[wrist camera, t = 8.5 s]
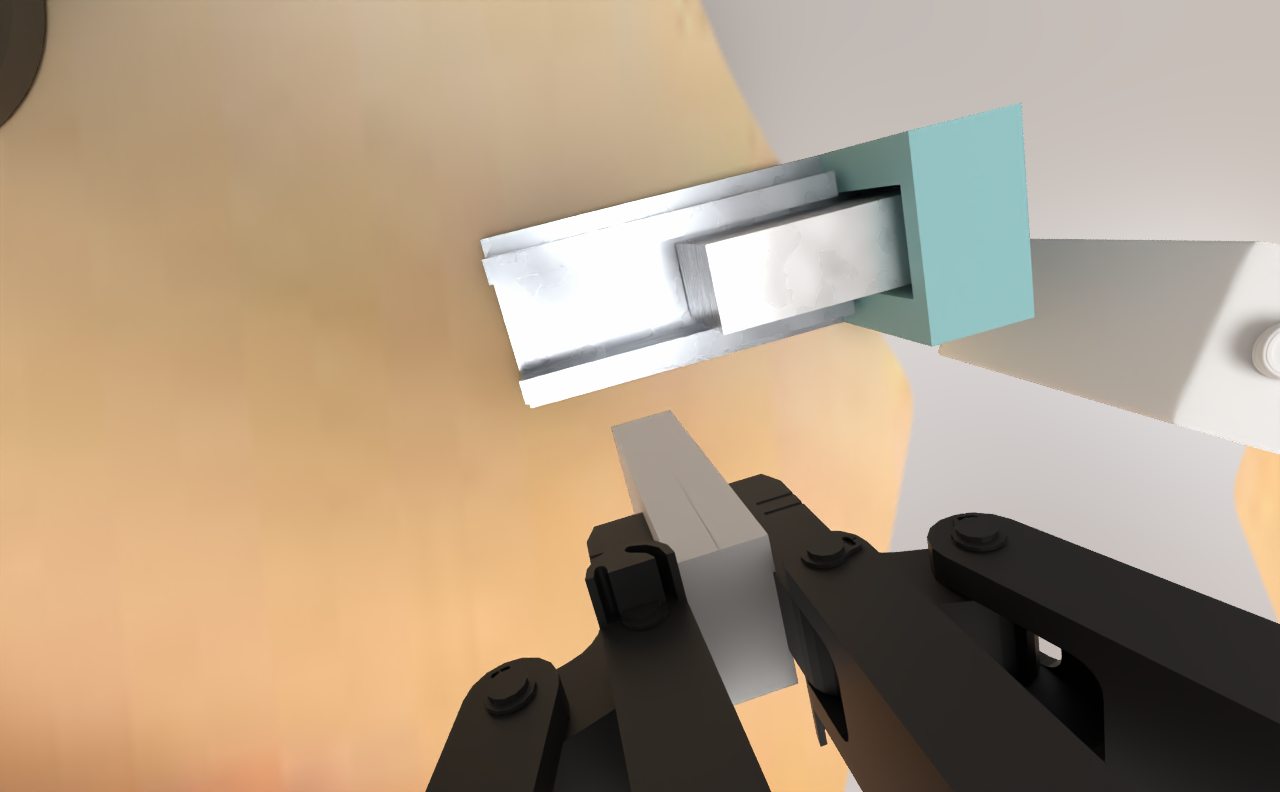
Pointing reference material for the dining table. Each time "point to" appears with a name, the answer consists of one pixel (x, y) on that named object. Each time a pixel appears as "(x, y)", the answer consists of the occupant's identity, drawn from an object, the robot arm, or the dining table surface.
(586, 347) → the guide channel
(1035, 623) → the robot arm
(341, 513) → the dining table surface
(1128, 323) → the milk carton
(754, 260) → the sliding block
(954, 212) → the socket housing
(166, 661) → the dining table surface
